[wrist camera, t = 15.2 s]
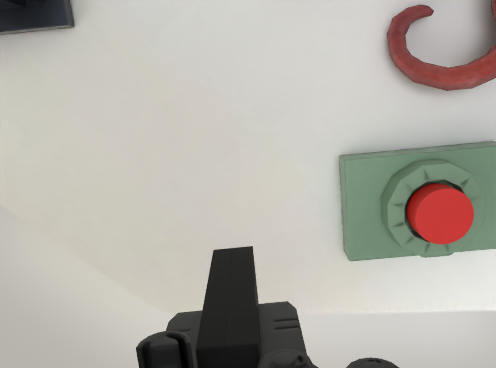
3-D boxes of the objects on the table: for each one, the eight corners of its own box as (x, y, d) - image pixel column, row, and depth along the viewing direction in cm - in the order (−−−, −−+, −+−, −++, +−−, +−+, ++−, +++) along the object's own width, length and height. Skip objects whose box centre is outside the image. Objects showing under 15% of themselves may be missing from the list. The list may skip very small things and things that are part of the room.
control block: (343, 251, 37) (354, 271, 33) (338, 155, 35) (349, 164, 31) (491, 238, 36) (520, 256, 32) (493, 141, 34) (524, 147, 31)
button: (407, 238, 32) (415, 247, 31) (406, 185, 32) (414, 191, 30) (462, 233, 32) (474, 242, 31) (462, 180, 32) (474, 185, 30)
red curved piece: (442, -71, 34) (372, 76, 36) (451, -126, 28) (367, 53, 30) (603, -28, 31) (519, 131, 32) (652, -81, 25) (546, 118, 26)
